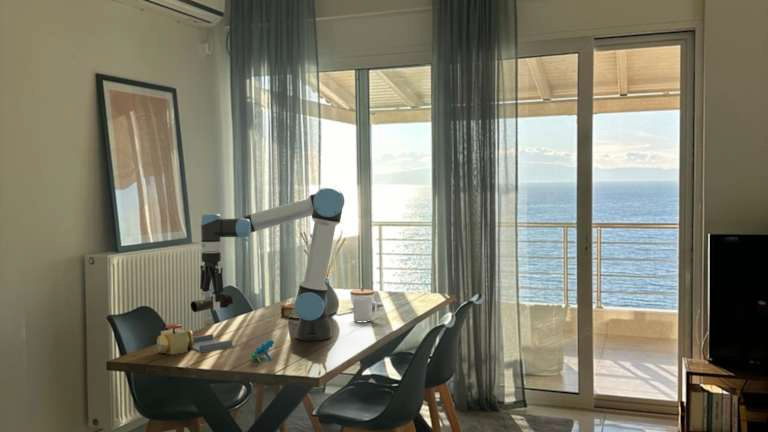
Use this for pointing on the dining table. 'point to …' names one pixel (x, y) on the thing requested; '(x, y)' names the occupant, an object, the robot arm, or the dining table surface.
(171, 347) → the brass valve
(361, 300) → the mug
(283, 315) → the diary
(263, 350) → the blue green toy
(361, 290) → the lidded bowl
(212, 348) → the blue-grey u-shaped block
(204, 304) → the dark brown elongated piece
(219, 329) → the dining table surface
